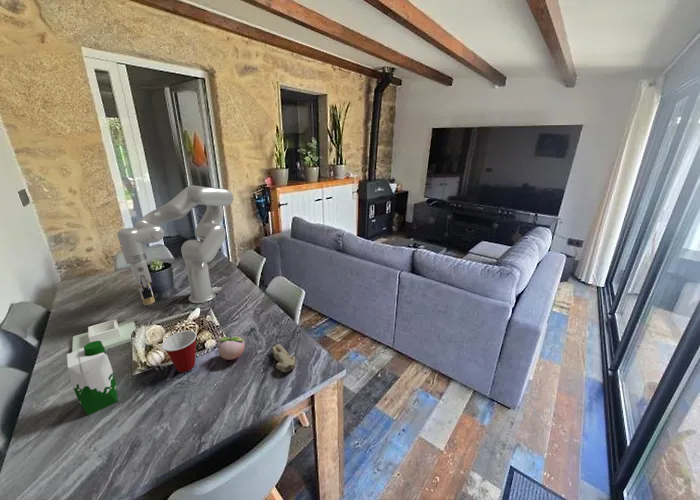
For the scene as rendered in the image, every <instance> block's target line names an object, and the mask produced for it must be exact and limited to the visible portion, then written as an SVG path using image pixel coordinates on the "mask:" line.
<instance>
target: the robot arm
mask: <svg viewBox="0 0 700 500" xmlns="http://www.w3.org/2000/svg"><path fill="white" fill-rule="evenodd" d="M233 201H234V195H233V193H232V192H231V191H230V190H228V188H220V187H207V186H200V185H188V186H187V187H185V188H184V189H182V190H181V191H180V192H179V193H178V194H177V195H175V196H174V197H173V198H172V199H171V200H170V201H168V202H167V203H165V204H164V205H162V206H161V205H160V207H157V208H155V209H153V210H152V211H150V212H148V213H147V214H145V215H144V216H143V217H142V218H140V219H139V220H138V221H137V222H136V223H135V224H134V226H133V227H127V228H123V229H120V230H118V231H117V234H116V235H117V238H118V241H119V245H120V248H121V251H122V254H123V256H124V257H123V258H124V261H125V263H126V264H127V265H130V269H131V270H132V273H133V276H134V279H135V282H136V283H138V284H137V286H138V285H140V286H141V289H142V295H143V298H144V299H146V298H150V297H152V293H151V289H152V288H151V289H150V288H149V285H148V282H149V283H150V284H151V283H152V282H153V281H152V277H151V274H150V271H149V268H148V265H147V264H148V263H147V262H146V261H147V260H148V256H147V252H146V248H145V245H147V244H151V243H152V244H153V243H157V242H158V243H159V242H160V241H161V240H163V239H164V237H165V231H164V229H163V228H162V227H161V225H164V224H165V223H168V222H173V221H176V220H179V219H182V218H184V217H186V215H187V214H188V213H189V212H190V211H192V210H193V209H194V208H195V207H196V206H197V205H202V206H206V209H205V212H204V214H203V216H202V218H201V219H200V221H199V223H198V224H197V226H196V228H195V230H194V234H195V237H197V238H198V239H200V240H202V241H200V240H196V239H189V240H186V241H184V242H183V244H182V245H181V247H180V248H181V249H180V251H181V255H182V258H183V260H184V263H185V267H186V274H187V278H188V283H189V284H188V285H189V289H190V296H189V297H188V301H189V302H190V303H192V304H204V303H207V302H209V301H212V300H213V299H214V298H215V297H216V292H220V291H222V287H221V286H219V287H218V286H214V287H213V286H211V285H212V284H211V279H210V278H211V277H210V272H209V265H208V263H210V262H211V261H212V260H213V259H214V258H215V257H216V255H217V254H218V252H219V250H220V248H221V247H222V244H223V243H224V241H225V239H226V229H225V227H224V226H223V225H221V223H222V220H223V219H224V208H223V207H228V206H231V205H232V203H233ZM140 277H141V278H140ZM141 283H142V284H141ZM142 285H143V287H142Z"/></svg>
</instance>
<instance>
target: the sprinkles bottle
mask: <svg viewBox="0 0 700 500" xmlns="http://www.w3.org/2000/svg"><path fill="white" fill-rule="evenodd" d="M140 278H141V277H140ZM136 283H137V282H136ZM141 284H142V283H141ZM148 285H149V288H150V289H151V293H152V297H150V298H146V299H144V298H143V295H142V289H141V286H140V285H138V283H137V287H138V291H139V293H140V297H141V300H142V304H143V305H145V306H148V305H152V304H154V303H155V302H156V299H155V297H154V293H153V290H152V285H151V283H150V282H148ZM142 287H143V285H142Z"/></svg>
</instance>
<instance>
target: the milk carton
mask: <svg viewBox="0 0 700 500" xmlns="http://www.w3.org/2000/svg"><path fill="white" fill-rule="evenodd" d="M66 361H67V370H68V377H69V380H70V382H71V385H72V389H73V390H74V394H75V396H76V398H77V400H78V401H77V402H79V404H80V405H81V407H82V408H83V410H84V412H85V413H86V414H87V416H89V415H92V414H94V413H96V412H98V411H100V410H102V409H105V408H107V407H110V406H111V405H113V404H114V405H115V403H118V402H119V400H118V399H119V398H118V389H117V382H116V376H115V375H114V371H113V367H112V365H111V361H110V360H109V356H108V354H107V352H106V350H105V348H104V346H103V345H102V342H101V341H94V342H91V343H88V344H87V345H85V346H84V348H82V349H79V350H78V351H75V352H72V351H71V352H69V353H67V354H66Z"/></svg>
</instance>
